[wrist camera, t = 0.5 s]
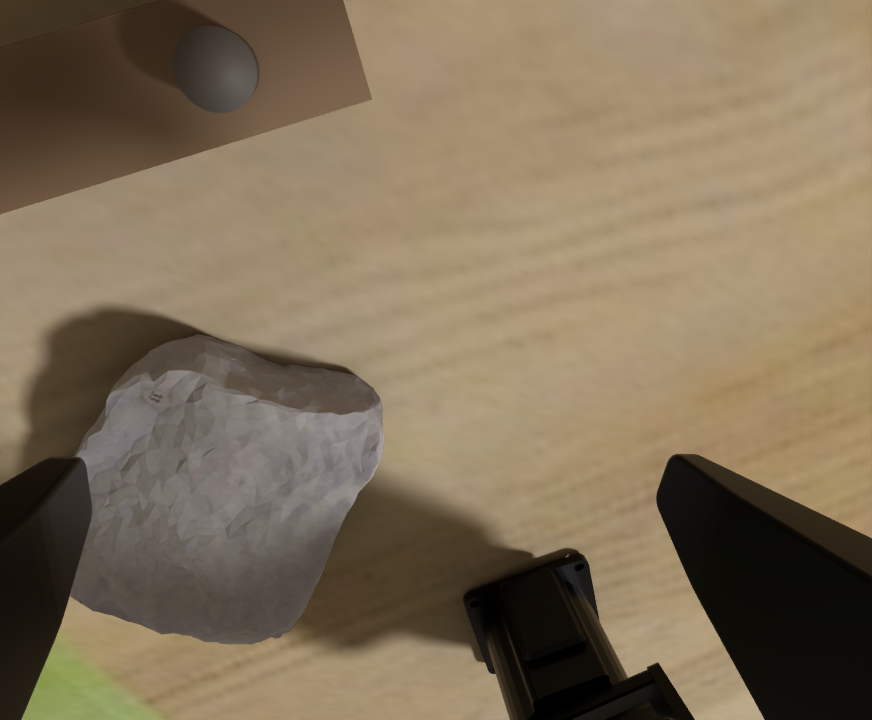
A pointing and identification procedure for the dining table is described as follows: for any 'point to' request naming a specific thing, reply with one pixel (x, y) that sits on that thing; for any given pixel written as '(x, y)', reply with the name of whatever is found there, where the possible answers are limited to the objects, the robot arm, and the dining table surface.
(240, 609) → the stone block
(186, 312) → the dining table surface
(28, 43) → the bar
